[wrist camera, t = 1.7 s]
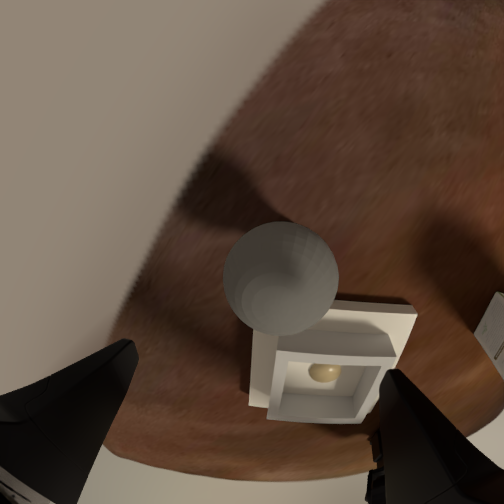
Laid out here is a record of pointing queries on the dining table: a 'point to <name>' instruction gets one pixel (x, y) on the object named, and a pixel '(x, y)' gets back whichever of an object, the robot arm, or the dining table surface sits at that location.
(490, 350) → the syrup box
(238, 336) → the dining table surface
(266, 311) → the light bulb
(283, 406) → the socket base
